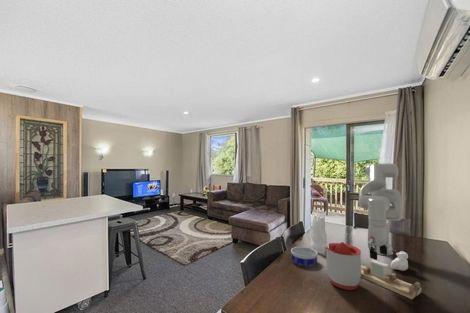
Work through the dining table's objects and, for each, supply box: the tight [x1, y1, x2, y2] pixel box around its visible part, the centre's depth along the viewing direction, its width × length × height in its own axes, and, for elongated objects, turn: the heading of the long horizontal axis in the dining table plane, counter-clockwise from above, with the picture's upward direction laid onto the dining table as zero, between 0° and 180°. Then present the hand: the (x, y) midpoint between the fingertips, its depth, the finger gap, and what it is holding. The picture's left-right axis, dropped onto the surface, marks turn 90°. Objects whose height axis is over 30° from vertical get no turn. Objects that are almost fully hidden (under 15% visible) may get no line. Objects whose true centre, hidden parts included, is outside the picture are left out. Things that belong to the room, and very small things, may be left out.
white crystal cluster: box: [310, 212, 329, 255], centre depth 145 cm, size 11×11×25 cm
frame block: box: [369, 259, 390, 280], centre depth 106 cm, size 3×7×6 cm, turn 30°
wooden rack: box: [360, 264, 422, 300], centre depth 106 cm, size 10×30×4 cm, turn 30°
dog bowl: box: [290, 246, 318, 267], centre depth 128 cm, size 15×15×6 cm
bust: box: [390, 250, 409, 272], centre depth 117 cm, size 12×8×11 cm
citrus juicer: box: [321, 241, 362, 291], centre depth 103 cm, size 16×17×20 cm
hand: (378, 256), depth 107 cm, fingers open, 9 cm apart
